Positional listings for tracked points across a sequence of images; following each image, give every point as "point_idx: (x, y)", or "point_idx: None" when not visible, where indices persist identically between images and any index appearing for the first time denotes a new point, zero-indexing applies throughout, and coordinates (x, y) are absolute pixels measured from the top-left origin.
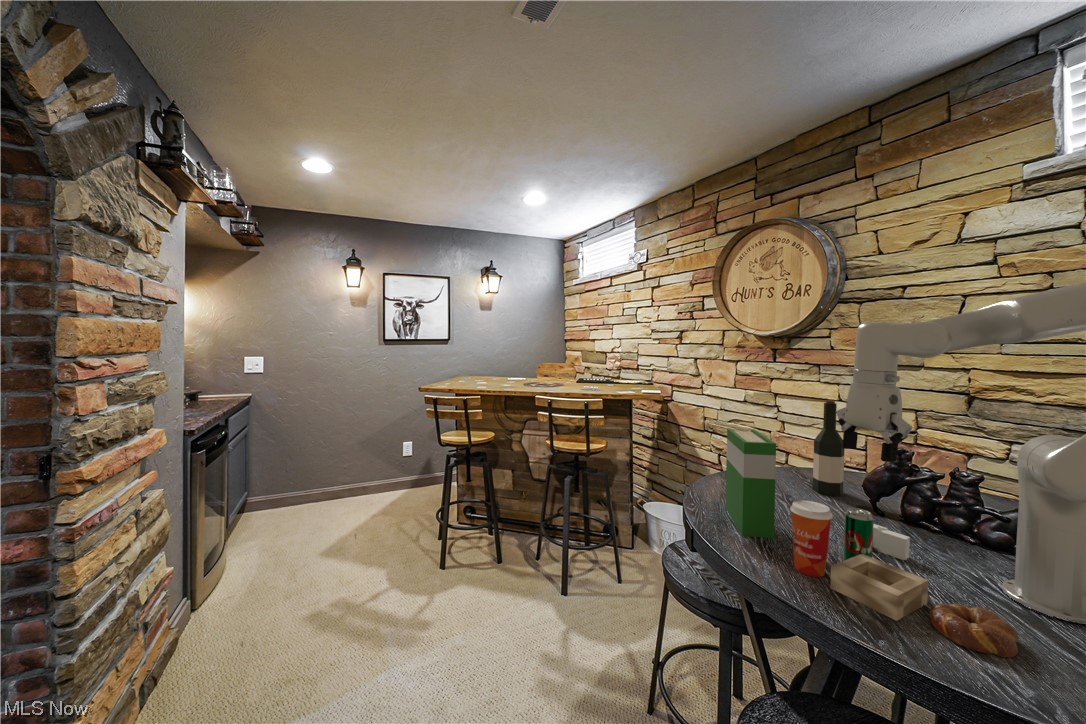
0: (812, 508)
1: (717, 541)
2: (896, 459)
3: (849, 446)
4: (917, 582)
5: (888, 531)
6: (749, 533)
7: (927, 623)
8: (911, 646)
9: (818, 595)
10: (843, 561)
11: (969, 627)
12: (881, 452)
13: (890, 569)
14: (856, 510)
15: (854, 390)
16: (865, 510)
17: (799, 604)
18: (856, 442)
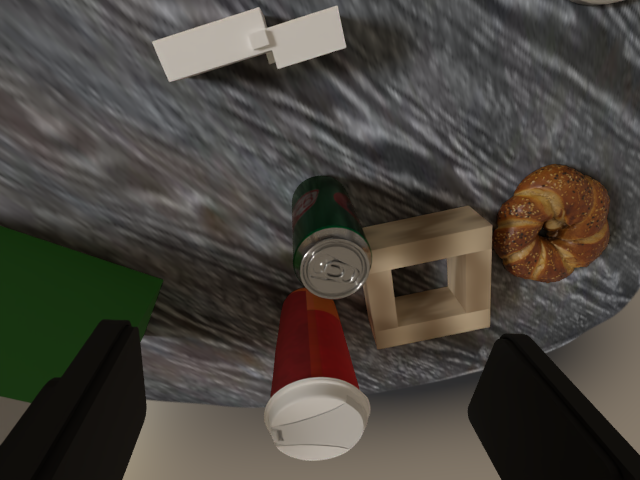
0: (332, 437)
1: (167, 389)
2: (530, 340)
3: (137, 400)
4: (485, 255)
5: (283, 38)
6: (145, 327)
7: (495, 261)
8: (506, 327)
9: (377, 349)
10: (373, 316)
11: (567, 270)
12: (495, 468)
13: (432, 257)
14: (325, 271)
15: None
16: (333, 241)
17: (384, 386)
18: (111, 372)
